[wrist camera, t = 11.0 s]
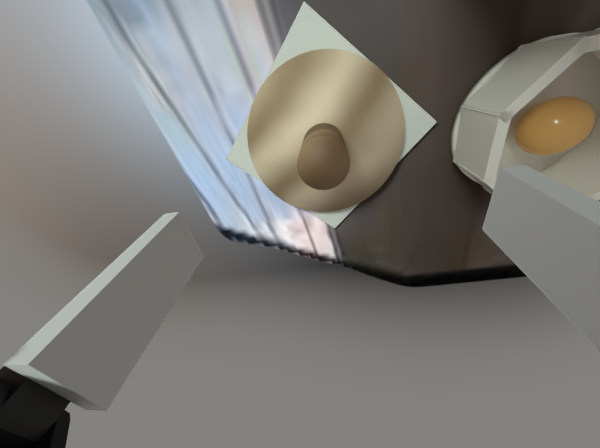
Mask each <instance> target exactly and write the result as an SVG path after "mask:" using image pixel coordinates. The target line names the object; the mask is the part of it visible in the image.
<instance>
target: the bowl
mask: <svg viewBox="0 0 600 448" xmlns="http://www.w3.org/2000/svg"><path fill="white" fill-rule="evenodd" d="M450 147H451V153H452V157H453V162H454V163H455V164H456V165H457V167H458V168H459V170H460V171H461V172H462V173H463V174H465V175H466V176H468V177H469V178H470V179H472V180H473V181H475V182H477V183H479V184H480V185H481V186H483V188H484V189H485V190H486V191H488V192H489V193H491V194H492V193H493V190H494V186H495V183H496V180H497V176H498V173H499V169H500V168H503V167H510V166H518V165H526V166H528V167H530V168H532V169H534V170H536V171H538V172H540V173H542V174H544V175H546V176H548V177H550V178H552V179H555V180H557V181H559V182H561V183H563V184H565V185H567V186H569V187H571V188H573V189H575V190H577V191H579V192H581V193H583V194H585V195H587V196H589V197H591V198H593V199H595V200H597V201H598V200H600V28H597V29H595V30H592V31H588V32H583V33H567V34H560V35H554V36H549V37H545V38H542V39H538V40H536V41H533V42H531V43H528V44H523V45H521V46H519V47H518V49H516V50H515V51H513V52H511V53H510V54H508V55H507V56H505V57H504V58H502V59H501V60H500V61H499V62H497V63H496V64H495V65H493V66H492V67H491V68H490V69H489V70H488V71H487V72H486V73H485V74H484V75H483V76H482V77H481V78H480V79H479V80H478V81H477V82H476V84H475V85H474V86H473V87H472V89H471V90H470V91H469V93H468V94H467V95H466V97H465V99H464V100H463V102H462V104H461V105H460V108H459V110H458V112H457V114H456V116H455V119H454V122H453V126H452V130H451V137H450Z"/></svg>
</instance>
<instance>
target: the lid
mask: <svg viewBox="0 0 600 448" xmlns="http://www.w3.org/2000/svg"><path fill="white" fill-rule="evenodd" d="M404 134H405V119H404V113H403V108H402V104H401V101H400V98H399V95H398V93H397V91H396V89H395V87H394V85H393V84H392V83H391V81H390V80H389V78H388V77H387V76H386V75H385V73H384V72H383V71H382V70H381V69H380V68H379V67H377V66H376V65H375V64H374V63H372V62H371V61H370V60H368V59H366V58H364V57H362V56H360V55H358V54H355V53H352V52H349V51H346V50H340V49H319V50H312V51H308V52H305V53H302V54H299V55H297V56H295V57H293V58H291V59H290V60H288V61H286V62H285V63H283V64H282V65H281V66H279V67H278V68H277V69H276V70H275V71H274V72H273V73H272V74H271V75H270V76H269V77H268V78H267V79H266V81H265V82H264V83H263V85H262V86H261V88H260V89H259V91H258V93H257V95H256V97H255V99H254V102H253V104H252V107H251V110H250V114H249V119H248V126H247V140H248V148H249V153H250V157H251V160H252V162H253V165H254V168H255V169H256V171H257V173H258V175H259V177H260V178H261V180H262V181H263V183H264V184H265V185H266V186H267V187H268V188H269V190H271V191H272V192H273V193H274V194H275V195H276V196H277V197H279V198H280V199H282V200H283V201H285V202H287V203H288V204H290V205H293V206H295V207H297V208H300V209H304V210H308V211H314V212H332V211H338V210H342V209H346V208H349V207H351V206H354V205H356V204H358V203H360V202H362V201H364V200H365V199H367V198H368V197H369V196H371V195H372V194H374V193H375V192H376V191H377V190H378V189H379V188H380V187H381V186H382V185H383V184H384V183H385V181H386V180H387V179H388V177H389V176H390V174H391V173H392V172H393V170H394V168H395V166H396V164H397V162H398V159H399V156H400V154H401V150H402V146H403V142H404Z"/></svg>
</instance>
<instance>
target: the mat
mask: <svg viewBox="0 0 600 448" xmlns="http://www.w3.org/2000/svg"><path fill="white" fill-rule="evenodd" d="M319 49H340V50H346V51H349V52H352V53H355V54H358V55H360V56H362V57H364V58H366V57H365V56H364V55H363V54H362V53H360V52H359V51H358V50H357V49H356V48H355V47H354V46H353V45H352V44H351V43H349V42H348V41H347V40H346V39H345V38H344V37H343V36H342V35H341V34H339V33H338V32H337V31H336V30H335V29H334V28H333V27H332V26H331V25H330V24H328V23H327V22H326V21H325V20H324V19H323V18H322V17H321V16H320V15H319V14H317V13H316V12H315V11H314V10H313V9H312V8H311V7H310V6H309V5H307V4H306V3H305V2H303V4H302V7H301V9H300V11H299V13H298V15H297V17H296V19H295V21H294V23H293V25H292V27H291V29H290V31H289V33H288V35H287V37H286V39H285V41H284V43H283V45H282V47H281V49H280V51H279V53H278V55H277V57H276V59H275V61H274V63H273V65H272V67H271V69H270V71H269V73H268V75H267V78H268V77H269V76H270V75H271V74H272V73H273V72H274V71H275V70H276V69H277V68H278V67H279V66H281V65H282V64H283V63H285V62H286V61H288V60H290V59H291V58H293V57H295V56H297V55H299V54H302V53H305V52H308V51H312V50H319ZM366 59H367V58H366ZM267 78H266V79H267ZM389 80H390V79H389ZM265 81H266V80H265ZM390 81H391V80H390ZM391 83H392V84H393V85H394V87H395V89H396V91H397V93H398V95H399V98H400V101H401V104H402V108H403V113H404V119H405V134H404V142H403V146H402V150H401V154H400V156H399V159H398V162H399V161H400V160H401V159H402V158H403V157H404V156H405V155H406V154H407V153H408V152H409V151H410V150H411V149H412V148H413V146H414V145H415V144H416V143H417V142H418V141H419V140H420V139H421V138H422V137H423V136H424V135H425V134H426V133H427V132H428V131H429V130H430V129H431V128H432V127H433V126H434V125H435V124H436V122H437V121H435V120H434V119H433V118H432V117H431V116H430V115H429V114H428V113H427V112H426V111H424V110H423V109H422V108H421V107H420V106H419V105H418V104H417V103H416V102H415V101H413V100H412V99H411V98H410V97H409V96H408V95H407V94H406V93H405V92H403V91H402V90H401V89H400V88H399V87H398V86H397V85H396V84H395V83H394V82H392V81H391ZM249 114H250V112H249ZM249 114H248V116H247V118H246V120H245V122H244V124H243V126H242V128H241V130H240V132H239V134H238V136H237V138H236V140H235V142H234V144H233V146H232V149H231V151H230V153H229V155H228V157H227V159H226V160H228V161H229V162H231V163H233V164H234V165H236V166H237V167H239V168H240V169H242V170H244V171H245V172H247V173H248V174H250V175H251V176H253V177H255V178H256V179H258V180H259V181H261V182H263V181H262V180H261V178H260V177H259V175H258V173H257V171H256V169H255V168H254V165H253V162H252V160H251V157H250V153H249V148H248V140H247V126H248V119H249ZM398 162H397V163H398ZM358 204H359V203H358ZM358 204H356V205H354V206H351V207H349V208H346V209H342V210H338V211H332V212H314V211H308V210H307V211H308V212H310V213H311V214H313V215H315V216H316V217H318V218H319V219H321V220H322V221H324V222H326V223H327V224H329V225H330V226H332V227H333V228H336V227H337V226H338V225H339V224H340V223H341V222H342V220H343V219H344V218H345V217H346V216H347V215H348V214H349V213H350V212H351V211H352V210H353V209H354V208H355V207H356V206H357V205H358Z"/></svg>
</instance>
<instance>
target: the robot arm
mask: <svg viewBox="0 0 600 448" xmlns="http://www.w3.org/2000/svg"><path fill="white" fill-rule="evenodd" d="M482 230H483V231H484V232H485V233H486V234H487V235H488V236H489V237H490V238H491V239H492V240H493V241H494V242H495V243H496V245H497V246H498V247H499V248H500V249H501V250H502V251H503V252H504V253H505V254H506V255H507V256H508V257H509V258H510V259H511V260H512V261H513V262H514V263H515V264H516V265H517V266H518V267H519V268H520V269H521V270H522V271H523V273H524V274H525V275H526V276H527V277H528V278H529V279H530V280H531V281H532V282H533V283H534V284H535V285H536V286H537V287H538V288H539V289H540V290H541V291H542V292H543V293H544V294H545V295H546V296H547V297H548V298H549V299H550V300H551V302H552V303H553V304H554V305H555V306H556V307H557V308H558V309H559V310H560V311H561V312H562V313H563V314H564V315H565V316H566V317H567V318H568V319H569V320H570V321H571V322H572V323H573V324H574V325H575V326H576V327H577V329H579V330H580V332H581V333H582V334H583V335H584V336H585V337H586V338H587V339H588V340H589V341H590V342H591V343H592V344H593V345H594V346H595V347H596V348H597V349H598V350H599V351H600V202H599V201H597V200H595V199H593V198H591V197H589V196H587V195H585V194H583V193H581V192H579V191H577V190H575V189H573V188H571V187H569V186H567V185H565V184H563V183H561V182H559V181H557V180H555V179H552V178H550V177H548V176H546V175H544V174H542V173H540V172H538V171H536V170H534V169H532V168H530V167H528V166H526V165H518V166H510V167H503V168H500V169H499V173H498V176H497V180H496V183H495V186H494V190H493V193H492V197H491V200H490V203H489V207H488V210H487V214H486V217H485V220H484V224H483V227H482ZM203 257H204V255H203V253H202V252H201V250H200V248H199V246H198V245H197V243H196V241H195V239H194V238H193V236H192V234H191V232H190V230H189V229H188V227H187V225H186V223H185V222H184V220H183V218H182V216H181V214H180V213H179V212H175V213H168V214H164V215H163V216H162V217H161V218H160V219H159V220H158V221H157V222H156V223H154V224H153V225H152V226H151V227H150V228H149V229H148V230H147V231H146V232H145V233H144V234H143V235H142V236H140V237H139V238H138V239H137V240H136V241H135V242H134V243H133V244H132V245H131V246H130V247H129V248H128V249H126V250H125V251H124V252H123V253H122V254H121V255H120V256H119V257H118V258H117V259H116V260H115V261H114V262H112V264H110V265H109V266H108V267H107V268H106V269H105V270H104V271H103V272H102V273H101V274H100V275H99V276H97V277H96V278H95V279H94V280H93V281H92V282H91V283H90V284H89V285H88V286H87V287H86V288H85V289H83V290H82V291H81V292H80V293H79V294H78V295H77V296H76V297H75V298H74V299H73V300H72V301H71V302H70V303H68V305H66V306H65V307H64V308H63V309H62V310H61V311H60V312H59V313H58V314H57V315H55V316H54V317H53V318H52V319H51V320H50V321H49V322H48V323H47V324H46V325H45V326H44V327H43V328H42V329H40V330H39V331H38V332H37V333H36V334H35V335H34V336H33V337H32V338H31V339H30V340H29V341H28V342H26V343H25V344H24V345H23V346H22V347H21V348H20V349H19V350H18V351H17V352H16V353H15V354H14V355H12V357H10V358H9V359H8V360H7V361H6V362H5V363H4V364H3V365H4V367H3V368H2V369H1V370H0V448H65V446H66V440H67V435H68V429H69V424H70V414H69V413H68V412H67V411H66V410H64V409H65V408H66V407H67V405H68V404H69V403H70V402H72V403H74V404H76V405H78V406H80V407H82V408H83V409H85V410H107V409H108V408H109V406H110V404H111V403H112V401H113V399H114V398H115V396H116V395H117V393H118V392H119V390H120V389H121V387H122V385H123V384H124V382H125V381H126V379H127V377H128V376H129V374H130V373H131V371H132V369H133V368H134V366H135V365H136V363H137V362H138V360H139V358H140V357H141V355H142V354H143V352H144V350H145V349H146V347H147V346H148V344H149V342H150V341H151V339H152V338H153V336H154V335H155V333H156V331H157V330H158V328H159V327H160V325H161V323H162V322H163V320H164V319H165V317H166V315H167V314H168V312H169V311H170V309H171V308H172V306H173V304H174V303H175V301H176V300H177V298H178V297H179V295H180V293H181V292H182V290H183V289H184V287H185V285H186V284H187V282H188V281H189V279H190V277H191V276H192V274H193V273H194V271H195V270H196V268H197V266H198V265H199V263H200V262H201V260H202V258H203Z"/></svg>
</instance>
